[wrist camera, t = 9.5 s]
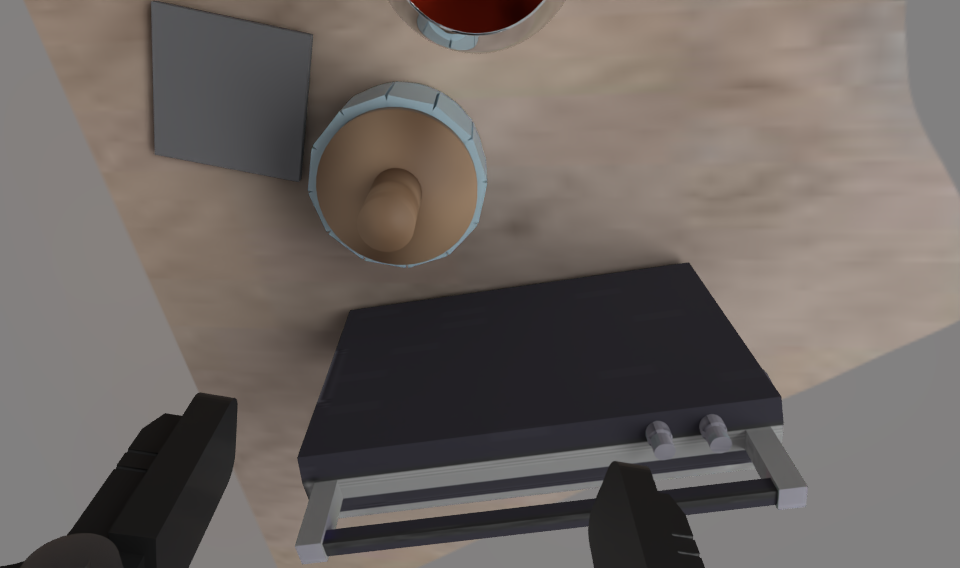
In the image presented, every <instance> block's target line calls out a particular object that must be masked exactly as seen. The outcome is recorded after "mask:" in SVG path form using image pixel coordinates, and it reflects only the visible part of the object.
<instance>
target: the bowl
mask: <svg viewBox="0 0 960 568" xmlns="http://www.w3.org/2000/svg"><path fill="white" fill-rule="evenodd" d="M384 107H404V108H411V109H415V110H419V111H422V112H424V113H427V114H429V115H432V116H433V117H435V118H437V119H439V120H440V121H442V122H443V123H444V124H446V125H447V126H448V127H450V128H451V129H452V130H453V131H454V132H455V133H456V134H457V135H458V136H459V138H460V139H461V140H462V142H463V143H464V144H465V146H466V148H467V149H468V151H469V153H470V155H471V158H472V160H473V163H474V166H475V170H476V175H477V204H476V209H475V213H474V216H473V219H472V221H471V223H470V225H469V227H468V229H467V230H466V232H465V233H464V235H463V236H462V237H461V238H460V240H459V241H458V242H457V243H456V244H455V245H454V246H453V247H451V248H450V249H449V250H447V251H446V252H445V253H443V254H441V255H439V256H437V257H436V258H433V259H431V260H428V261H425V262H421V263H417V264H409V265H408V268H410V267H413V266H416V265H419V264H423V263H426V262H429V261H433V260H436V259H439V258H442V257H446V256H447V254H451V253H452V252H453V250H454V249H455V248H456V247H457V246H458V245H459V244H460V243H461V242H462V241H463V240H464V239H465V238H466V237H467V236H468V235H469V234H470V233H471V232H472V231H473V229H474V228H475V227H476V226H477V223H479V218H480V214H481V209H482V205H483V200H484V196H485V191H486V186H487V167H486V158H485V155H484V152H483V148H482V144H481V140H480V137H479V134H478V132H477V129H476V127H475V125H474V122H472V119H471V118H470V117H469V116H468V115H467V113H466V112H465V111H464V110H463V109H462V108H461V106H460V105H459V104H458V103H457V102H455V101H454V100H453V99H451V98H450V97H449V96H447V95H446V94H444V93H442V92H441V91H439V90H437V89H434V88H432V87H430V86H426V85H423V84H419V83H413V82H398V81H396V82H394V81H393V82H390V83H385V84H381V85H377V86H374V87H372V88H370V89H368V90H366V91H364V92H362V93H359V94H356V95H354V97H352V98H351V99H350V100H349V101H348V102H347V104H346V105H345V106H344V107H343V108H342V109H341V110H340V111H339V113H338V114H337V115H336V116H335V118H334V119H333V120H332V122H331V123H330V124H329V125H328V127H327V128H326V129H325V131H324V132H323V133H322V134H321V136H320V137H319V138H318V140H317V141H316V142H315V143H314V145H313V147H312V149H311V160H310V172H309V183H308V191H310V192H309V193H308V194H309V196H310V198H311V200H312V202H313V204H314V206H315V208H316V211H317V213H318V215H319V217H320V219H321V221H322V223H323V225H324V227H325V229H326V232H327V231H330V232H329V235H330V236H332V237H333V238H334V239H336V240H337V241H338V242H340V243H341V244H342V245H344V246H345V247H346V248H348V249H349V250H350V251H352V252H353V253H354V254H356V255H357V256H358V257H360V258H361V259H363V258H364V256H362V255H360V254H358V253H357V252H355V251H354V250H352V249H351V248H349V247H348V246H347V245H346V244H344V243H343V242H342V241H341V240H340V239H339V238H338V237H337V236H336V235H335V234H334V232H333V231H332V229H331V228H330V227H329V225H328V224H327V222H326V220H325V218H324V216H323V214H322V211H321V209H320V206H319V202H318V198H317V191H316V175H317V169H318V165H319V162H320V158H321V156H322V154H323V152H324V150H325V148H326V146H327V145H328V143H329V142H330V140H331V139H332V138H333V136H334V135H335V134H336V133H337V132H338V131H339V130H340V128H341V127H342V126H344V125H345V124H346V123H347V122H349V121H350V120H351V119H353V118H355V117H356V116H358V115H360V114H363V113H365V112H367V111H370V110H374V109H378V108H384ZM365 261H370V262H376V263H381V264H386V263H382V262H377V261H374V260H372V259H369V258H366V257H365ZM387 265H392V266H398V267H403V268H406V265H393V264H387Z"/></svg>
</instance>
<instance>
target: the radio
mask: <svg viewBox="0 0 960 568" xmlns="http://www.w3.org/2000/svg"><path fill="white" fill-rule="evenodd" d="M782 438H783V413H782V400H781V396H780V394H779V393H778V391H777V390H776V388H775V387H774V385H773V384H772V382H771V380H770V378H769V376H768V374H767V373H766V372H765V371H764V370H763V369H762V368H761V367H760V365H759V364H758V362H757V361H756V359H755V358H754V356H753V355H752V353H751V352H750V351H749V349H748V348H747V346H746V345H745V343H744V342H743V340H742V339H741V337H740V336H739V335H738V333H737V332H736V330H735V329H734V327H733V326H732V324H731V323H730V321H729V320H728V319H727V317H726V316H725V314H724V313H723V311H722V310H721V308H720V307H719V306H718V304H717V303H716V301H715V300H714V298H713V297H712V295H711V294H710V292H709V291H708V290H707V288H706V287H705V285H704V284H703V282H702V281H701V279H700V278H699V276H698V275H697V274H696V272H695V271H694V269H693V268H692V266H691V265H690V263H682V264H675V265H667V266H660V267H653V268H646V269H639V270H632V271H625V272H618V273H611V274H604V275H597V276H590V277H583V278H576V279H569V280H561V281H554V282H547V283H540V284H533V285H526V286H519V287H512V288H505V289H498V290H491V291H484V292H477V293H470V294H463V295H456V296H448V297H441V298H434V299H427V300H420V301H413V302H406V303H399V304H392V305H385V306H378V307H371V308H364V309H357V310H350V312H349V315H348V318H347V320H346V323H345V326H344V329H343V332H342V334H341V337H340V340H339V343H338V346H337V348H336V351H335V354H334V357H333V360H332V362H331V365H330V368H329V371H328V373H327V376H326V379H325V382H324V385H323V387H322V390H321V393H320V396H319V399H318V401H317V404H316V407H315V410H314V413H313V415H312V418H311V421H310V424H309V426H308V429H307V432H306V435H305V438H304V440H303V443H302V446H301V449H300V452H299V454H298V457H297V459H298V464H299V468H300V473H301V478H302V483H303V486H304V489H305V491H306V494H307V496H308V499H309V502H308V505H307V509H306V512H305V515H304V518H303V522H302V525H301V528H300V531H299V535H298V538H297V541H296V544H295V548H296V550H297V553H298V555H299V557H300V560H301V562H302V564H309V563H318V562H326V561H328V557H329V556H334V555H343V554H351V553H360V552H369V551H377V550H386V549H395V548H403V547H412V546H421V545H430V544H438V543H447V542H456V541H464V540H473V539H482V538H490V537H498V536H508V535H516V534H525V533H534V532H543V531H551V530H560V529H569V528H577V527H586V526H589V518H590V513H591V510H592V507H593V505H594V502H595V500H596V498H595V499H587V500H578V501H570V502H561V503H553V504H544V505H536V506H528V507H519V508H511V509H502V510H494V511H485V512H477V513H468V514H460V515H451V516H443V517H434V518H426V519H417V520H409V521H400V522H392V523H383V524H375V525H366V526H358V527H349V528H341V529H336V525H337V521H338V518H346V517H354V516H363V515H371V514H379V513H388V512H396V511H405V510H413V509H421V508H430V507H438V506H447V505H455V504H463V503H472V502H480V501H489V500H497V499H505V498H514V497H522V496H531V495H539V494H547V493H556V492H564V491H573V490H581V489H589V488H598V487H601V485H602V482H603V480H604V477H605V475H606V472H607V470H608V468H609V465H610V464H611V463H612V462H613V461H618V462H625V463H631V464H637V465H643V466H647V467H648V468H649V469H650V470H651V473H652V476H653V479H654V481H656V480H664V479H673V478H681V477H690V476H698V475H706V474H715V473H724V472H732V471H741V470H748V469H756V470H757V472H758V474H759V475H760V477H761V479H757V480H748V481H740V482H731V483H723V484H715V485H706V486H698V487H689V488H681V489H672V490H663V491H658V493H664V494H669V495H670V496H671V497H672V498H673V500H674V501H675V502H676V503H677V505H678V506H679V507H680V508H681V510H682V511H683V512H684V513H685V515H690V514H699V513H708V512H716V511H725V510H734V509H742V508H751V507H760V506H769V505H776V507H777V509H778V510H781V509H789V508H798V507H806V500H807V490H808V486H807V485H806V483H805V481H804V480H803V478H802V476H801V475H800V473H799V471H798V470H797V468H796V467H795V465H794V463H793V462H792V460H791V459H790V457H789V455H788V454H787V452H786V451H785V449H784V447H783V446H782Z"/></svg>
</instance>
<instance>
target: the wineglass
mask: <svg viewBox="0 0 960 568" xmlns="http://www.w3.org/2000/svg"><path fill="white" fill-rule="evenodd" d="M387 1H388V2H389V4H390V5H391V7H392V8H393V9H394V11H395V12H396V13H397V15H398V16H399V17H400V18H401V19H402V20H403V21H404V22H405V23H406V24H407V25H408V26H409V27H410V28H411V29H412V30H413V31H415V32H416V33H417V34H419V35H420V36H422V37H423V38H425V39H426V40H428V41H430V42H432V43H434V44H436V45H438V46H440V47H443V48H446V49H449V50H452V51H456V52H461V53H470V54H483V53H492V52H497V51H501V50H505V49H508V48H511V47H513V46H516V45H518V44H520V43H522V42H524V41H526V40H527V39H529V38H531V37H532V36H534V35H535V34H536V33H538V32H539V31H540V30H541V29H542V28H544V27H545V26H546V25H547V24H548V23H549V22H550V21H551V20H552V19H553V18H554V16H555V15H556V14H557V13H558V11H559V10H560V9H561V7H562V6H563V4H564V3H565V1H566V0H387Z"/></svg>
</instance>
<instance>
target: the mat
mask: <svg viewBox="0 0 960 568" xmlns="http://www.w3.org/2000/svg"><path fill="white" fill-rule="evenodd" d="M151 20H152V60H153V101H154V141H155V154H156V155H161V156H166V157H171V158H176V159H182V160H187V161H192V162H197V163H202V164H208V165H213V166H218V167H223V168H228V169H234V170H239V171H244V172H249V173H254V174H260V175H265V176H270V177H275V178H280V179H286V180H291V181H296V182H299V181H300V180H301V175H302V163H303V151H304V139H305V127H306V115H307V102H308V90H309V78H310V66H311V54H312V42H313V34H309V33H304V32H299V31H295V30H290V29H285V28H281V27H276V26H271V25H267V24H262V23H257V22H253V21H248V20H243V19H239V18H234V17H229V16H225V15H220V14H215V13H211V12H206V11H201V10H197V9H192V8H187V7H183V6H178V5H173V4H169V3H164V2H159V1H151Z"/></svg>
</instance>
